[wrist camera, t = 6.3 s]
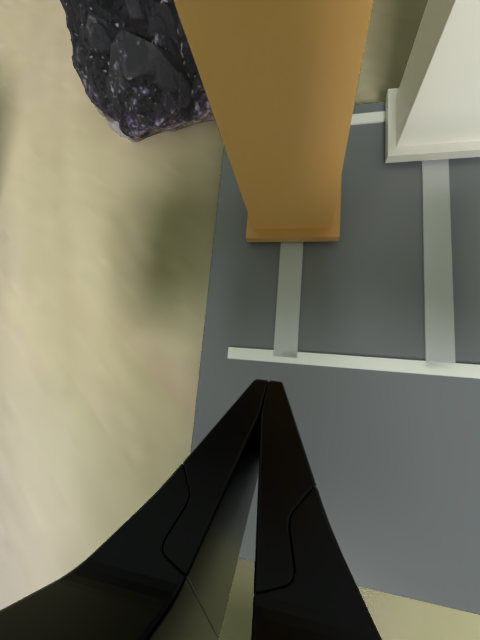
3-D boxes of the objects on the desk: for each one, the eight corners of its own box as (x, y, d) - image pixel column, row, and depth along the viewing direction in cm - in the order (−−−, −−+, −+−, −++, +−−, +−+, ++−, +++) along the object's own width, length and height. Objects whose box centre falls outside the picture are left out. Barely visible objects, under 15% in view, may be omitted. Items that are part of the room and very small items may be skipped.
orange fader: (338, 241, 15) (406, -26, 5) (247, 242, 16) (153, 24, 6) (340, 171, 16) (405, -189, 6) (253, 177, 17) (176, -118, 7)
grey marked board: (560, 617, 12) (585, 641, 11) (188, 533, 15) (180, 545, 14) (519, 103, 16) (534, 83, 15) (230, 131, 19) (226, 117, 18)
